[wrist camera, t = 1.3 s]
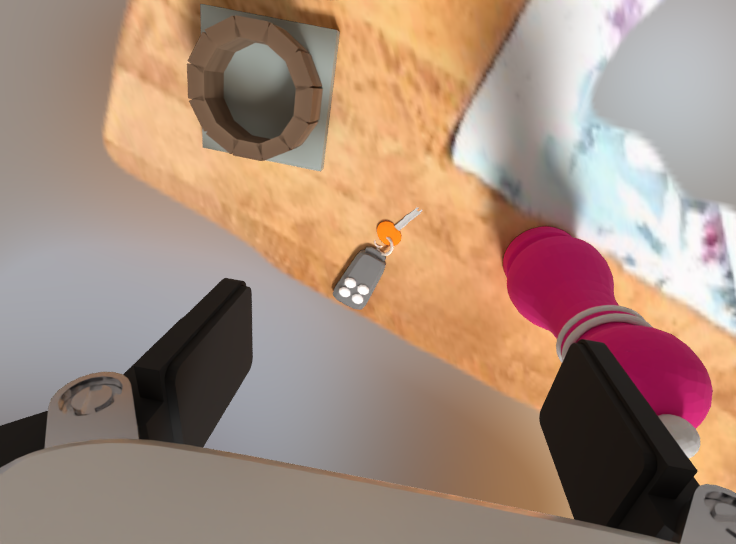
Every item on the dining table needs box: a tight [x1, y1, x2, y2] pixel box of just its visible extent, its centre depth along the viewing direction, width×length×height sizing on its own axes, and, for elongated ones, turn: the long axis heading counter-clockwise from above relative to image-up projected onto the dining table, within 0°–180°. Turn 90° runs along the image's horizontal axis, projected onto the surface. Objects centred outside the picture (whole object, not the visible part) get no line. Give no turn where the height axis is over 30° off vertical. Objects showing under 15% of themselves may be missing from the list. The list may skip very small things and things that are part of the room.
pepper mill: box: [503, 226, 713, 458], centre depth 24 cm, size 7×7×20 cm
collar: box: [187, 4, 340, 171], centre depth 28 cm, size 10×10×4 cm
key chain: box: [333, 208, 422, 309], centre depth 34 cm, size 13×4×2 cm, turn 152°
